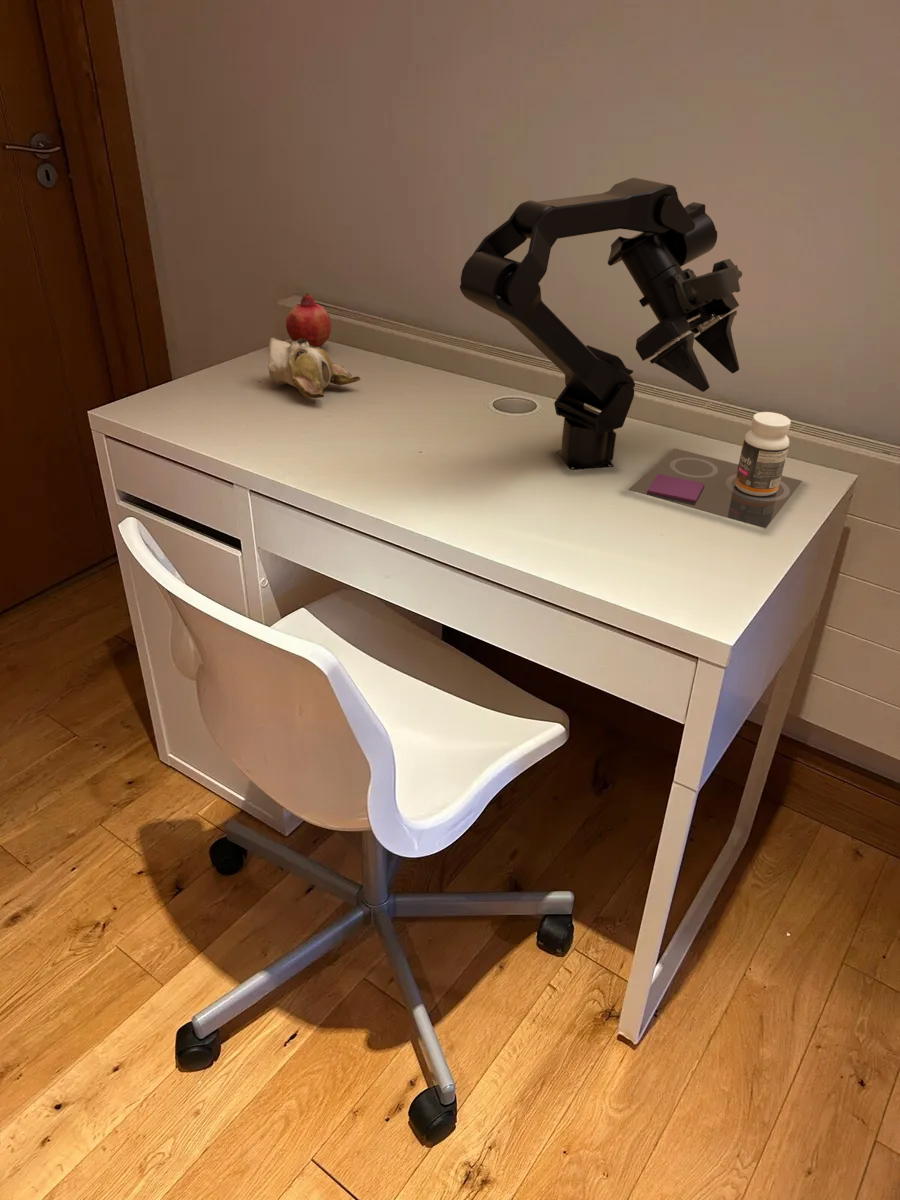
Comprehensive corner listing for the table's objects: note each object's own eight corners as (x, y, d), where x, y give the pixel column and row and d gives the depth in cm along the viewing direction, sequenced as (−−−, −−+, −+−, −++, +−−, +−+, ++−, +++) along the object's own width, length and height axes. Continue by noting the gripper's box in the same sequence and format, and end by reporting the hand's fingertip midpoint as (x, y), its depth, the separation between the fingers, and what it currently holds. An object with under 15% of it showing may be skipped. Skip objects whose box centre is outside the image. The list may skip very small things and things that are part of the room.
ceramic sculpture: (292, 320, 155) (363, 343, 149) (294, 369, 160) (362, 394, 154) (247, 336, 148) (319, 361, 141) (250, 388, 153) (320, 414, 146)
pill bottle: (728, 479, 127) (742, 409, 122) (769, 478, 128) (785, 409, 122) (741, 498, 122) (757, 427, 117) (784, 497, 123) (801, 427, 117)
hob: (764, 532, 116) (765, 528, 116) (627, 493, 124) (627, 489, 124) (801, 484, 128) (802, 480, 127) (673, 451, 136) (674, 447, 136)
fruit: (342, 349, 171) (339, 293, 165) (309, 359, 165) (306, 302, 160) (311, 339, 175) (308, 285, 169) (278, 349, 170) (274, 293, 164)
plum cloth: (695, 503, 121) (695, 500, 121) (646, 492, 123) (647, 490, 123) (704, 486, 125) (705, 483, 125) (657, 476, 127) (657, 473, 127)
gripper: (673, 252, 109) (742, 366, 110) (739, 228, 122) (800, 331, 122) (606, 306, 118) (671, 412, 118) (674, 278, 130) (732, 374, 131)
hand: (721, 380), depth 122 cm, fingers open, 9 cm apart
